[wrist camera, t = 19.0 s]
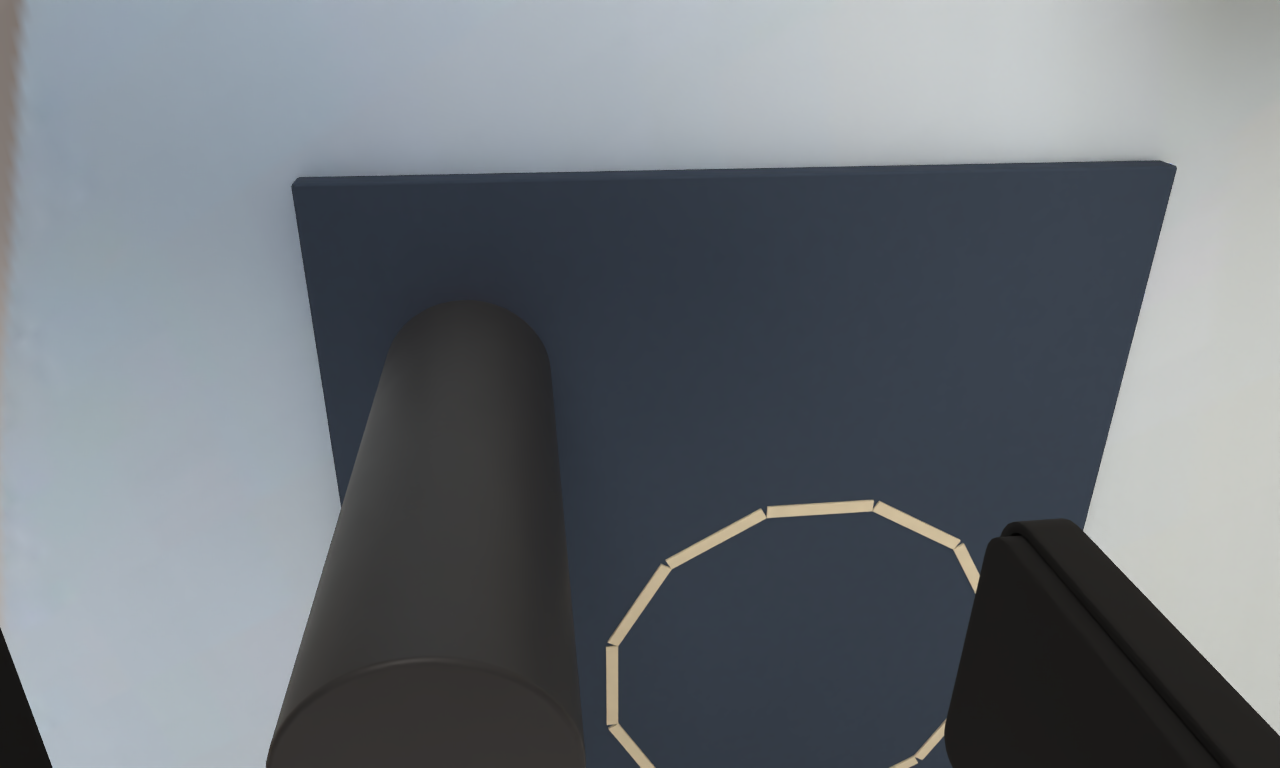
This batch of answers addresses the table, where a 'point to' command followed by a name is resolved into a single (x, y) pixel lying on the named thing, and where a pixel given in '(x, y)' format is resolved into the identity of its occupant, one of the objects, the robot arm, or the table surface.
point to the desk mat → (769, 414)
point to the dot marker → (445, 568)
